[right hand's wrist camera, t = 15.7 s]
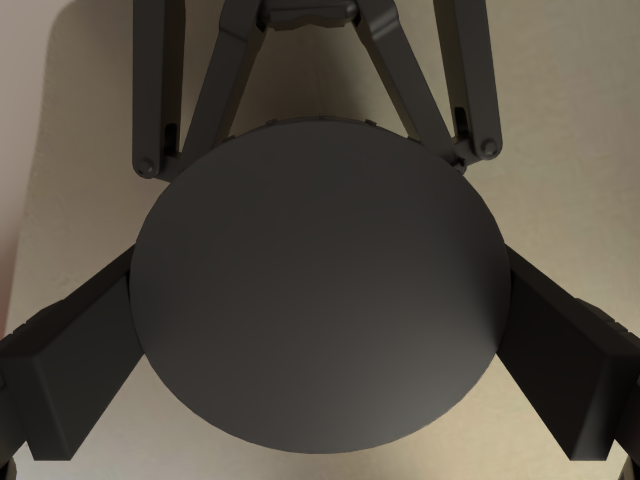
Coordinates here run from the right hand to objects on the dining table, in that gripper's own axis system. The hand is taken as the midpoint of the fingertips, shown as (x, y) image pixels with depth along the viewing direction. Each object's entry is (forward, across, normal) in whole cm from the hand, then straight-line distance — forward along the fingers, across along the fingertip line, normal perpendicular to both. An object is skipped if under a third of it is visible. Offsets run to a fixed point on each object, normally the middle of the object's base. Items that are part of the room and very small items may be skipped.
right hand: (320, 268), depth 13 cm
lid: (-3, 0, 0) cm, 3 cm away
